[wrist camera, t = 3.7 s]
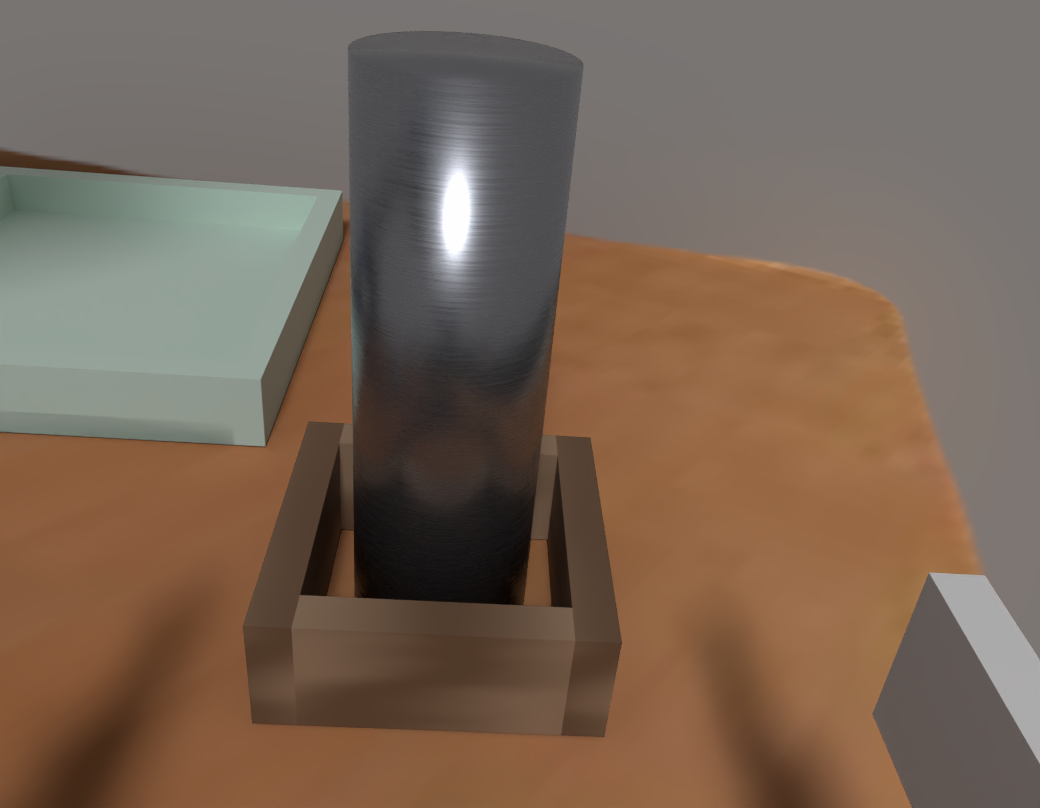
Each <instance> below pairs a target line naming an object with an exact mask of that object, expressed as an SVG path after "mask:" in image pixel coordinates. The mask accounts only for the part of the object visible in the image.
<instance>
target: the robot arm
mask: <svg viewBox="0 0 1040 808" xmlns="http://www.w3.org/2000/svg"><path fill="white" fill-rule="evenodd" d="M873 716H874V719H875V721H876V723H877V726H878V728H879V731H880V733H881V735H882V738H883V740H884V742H885V745H886V747H887V750H888V752H889V754H890V757H891V759H892V761H893V764H894V766H895V768H896V771H897V773H898V776H899V778H900V780H901V783H902V785H903V787H904V790H905V792H906V795H907V797H908V799H909V802H910V804H911V806H912V808H1040V660H1039V658H1038V657H1037V655H1036V654H1035V652H1034V651H1033V649H1032V647H1031V646H1030V644H1029V643H1028V641H1027V640H1026V638H1025V637H1024V635H1023V634H1022V632H1021V631H1020V629H1019V628H1018V626H1017V624H1016V623H1015V621H1014V620H1013V618H1012V617H1011V615H1010V614H1009V612H1008V611H1007V609H1006V607H1005V606H1004V605H1003V603H1002V601H1001V600H1000V598H999V597H998V595H997V594H996V592H995V591H994V589H993V588H992V586H991V584H990V583H989V581H988V580H987V578H986V577H985V576H984V575H964V574H945V573H929V574H928V577H927V579H926V582H925V584H924V587H923V589H922V592H921V594H920V597H919V599H918V602H917V604H916V607H915V609H914V612H913V614H912V617H911V619H910V622H909V624H908V627H907V629H906V632H905V634H904V637H903V639H902V642H901V644H900V647H899V649H898V652H897V654H896V657H895V659H894V662H893V664H892V667H891V669H890V672H889V674H888V676H887V679H886V681H885V684H884V686H883V689H882V691H881V694H880V696H879V699H878V701H877V704H876V706H875V709H874V711H873Z"/></svg>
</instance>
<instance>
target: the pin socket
mask: <svg viewBox="0 0 1040 808" xmlns="http://www.w3.org/2000/svg"><path fill="white" fill-rule="evenodd" d="M341 529H345V530H354V501H353V424H344V423H326V422H308V425H307V428H306V431H305V434H304V437H303V440H302V444H301V447H300V450H299V453H298V456H297V459H296V462H295V465H294V469H293V472H292V475H291V478H290V481H289V484H288V487H287V490H286V493H285V497H284V500H283V503H282V506H281V509H280V512H279V515H278V518H277V522H276V525H275V528H274V531H273V534H272V537H271V540H270V543H269V546H268V550H267V553H266V556H265V559H264V562H263V565H262V568H261V571H260V574H259V578H258V581H257V584H256V587H255V590H254V593H253V596H252V599H251V603H250V606H249V609H248V612H247V615H246V618H245V621H244V624H243V631H244V642H245V652H246V663H247V673H248V684H249V694H250V704H251V715H252V723H257V724H283V725H309V726H335V727H361V728H387V729H413V730H439V731H465V732H491V733H517V734H543V735H569V736H595V737H604V734H605V729H606V724H607V718H608V713H609V708H610V702H611V697H612V692H613V687H614V681H615V676H616V671H617V666H618V660H619V655H620V650H621V644H622V641H621V634H620V628H619V621H618V615H617V608H616V602H615V595H614V589H613V582H612V575H611V569H610V562H609V556H608V549H607V543H606V536H605V530H604V523H603V517H602V510H601V503H600V497H599V490H598V484H597V477H596V471H595V464H594V458H593V451H592V445H591V438H588V437H570V436H553V435H542V442H541V451H540V460H539V469H538V478H537V487H536V496H535V505H534V514H533V523H532V532H531V539H541V540H547V544H548V558H549V572H550V587H551V601H552V607H544V606H522V605H501V604H479V603H458V602H436V601H415V600H393V599H372V598H350V597H329V596H326V594H327V590H328V585H329V581H330V577H331V572H332V568H333V563H334V559H335V554H336V550H337V545H338V541H339V536H340V532H341Z"/></svg>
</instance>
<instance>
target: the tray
mask: <svg viewBox="0 0 1040 808" xmlns="http://www.w3.org/2000/svg"><path fill="white" fill-rule="evenodd" d="M342 242H343V199H342V191H338V190H324V189H309V188H296V187H282V186H267V185H255V184H240V183H227V182H213V181H199V180H185V179H171V178H157V177H143V176H130V175H116V174H102V173H88V172H74V171H60V170H46V169H32V168H18V167H4V166H0V432H14V433H32V434H50V435H68V436H86V437H104V438H122V439H140V440H157V441H175V442H193V443H211V444H229V445H247V446H266V443H267V441H268V438H269V435H270V433H271V430H272V427H273V425H274V422H275V420H276V417H277V414H278V412H279V409H280V406H281V404H282V401H283V398H284V396H285V393H286V390H287V388H288V385H289V383H290V380H291V377H292V375H293V372H294V369H295V367H296V364H297V361H298V359H299V356H300V353H301V351H302V348H303V346H304V343H305V340H306V338H307V335H308V332H309V330H310V327H311V324H312V322H313V319H314V316H315V314H316V311H317V308H318V306H319V303H320V301H321V298H322V295H323V293H324V290H325V287H326V285H327V282H328V279H329V277H330V274H331V271H332V269H333V266H334V264H335V261H336V258H337V256H338V253H339V250H340V248H341V245H342Z"/></svg>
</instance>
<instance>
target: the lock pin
mask: <svg viewBox="0 0 1040 808" xmlns="http://www.w3.org/2000/svg"><path fill="white" fill-rule="evenodd" d="M582 75H583V63H582V61H581V60H580V59H578V58H577V57H576V56H574V55H572V54H570V53H567V52H565V51H563V50H560V49H557V48H554V47H550V46H547V45H543V44H538V43H535V42H530V41H525V40H520V39H514V38H507V37H501V36H493V35H485V34H474V33H461V32H441V31H410V32H393V33H383V34H377V35H371V36H367V37H363V38H360V39H357V40H355V41H353V42H352V43H351V44H349V46H348V90H349V91H348V95H349V173H350V174H349V176H350V177H349V178H350V259H351V339H352V420H353V501H354V581H355V598H372V599H393V600H415V601H436V602H458V603H479V604H501V605H522V606H523V604H524V595H525V586H526V577H527V568H528V559H529V550H530V541H531V532H532V523H533V514H534V505H535V496H536V487H537V478H538V469H539V460H540V451H541V442H542V433H543V424H544V415H545V406H546V398H547V389H548V380H549V371H550V362H551V353H552V344H553V335H554V326H555V317H556V308H557V299H558V290H559V281H560V272H561V263H562V254H563V245H564V236H565V227H566V218H567V209H568V200H569V191H570V182H571V173H572V164H573V154H574V146H575V137H576V128H577V120H578V111H579V102H580V93H581V84H582V83H581V82H582Z"/></svg>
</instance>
